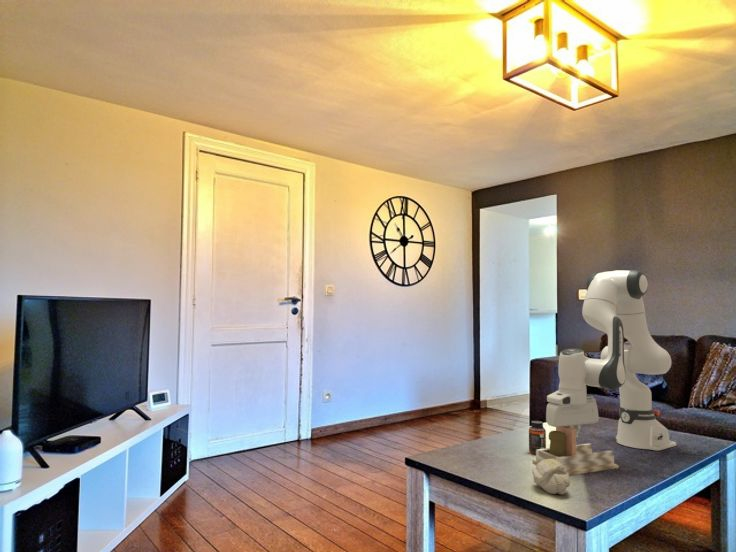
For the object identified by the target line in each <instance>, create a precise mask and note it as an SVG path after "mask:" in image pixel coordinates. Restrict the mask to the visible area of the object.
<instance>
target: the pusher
mask: <svg viewBox="0 0 736 552" xmlns="http://www.w3.org/2000/svg"><path fill="white" fill-rule="evenodd" d="M555 431H561V432H563V433H564V434H565V441H564V442H563V443H564V449H565V456H571V455H576V445H577V438H576V429H574V427H573V428H570V427H567V426H561V427H555Z"/></svg>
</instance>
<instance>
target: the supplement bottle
mask: <svg viewBox="0 0 736 552" xmlns="http://www.w3.org/2000/svg"><path fill="white" fill-rule="evenodd" d="M546 448H547V432H546V428H545V427H544V424H543V421H539V420H531V426H530V427H528V451H529V453H530V454H532V455H536V450H537V449H546Z"/></svg>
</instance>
